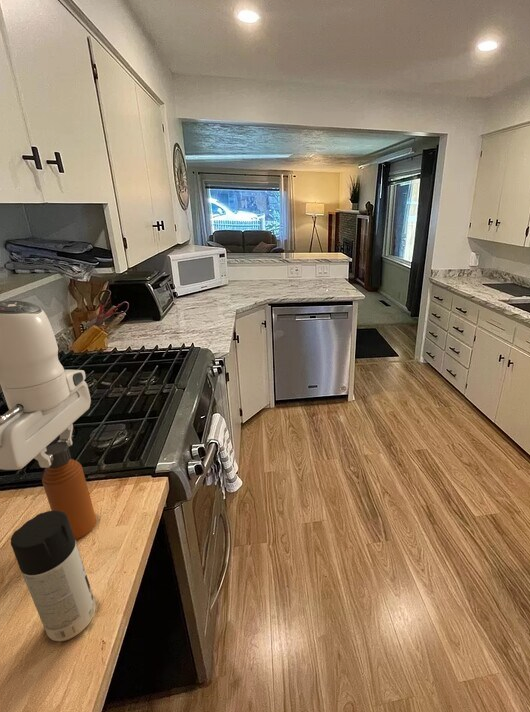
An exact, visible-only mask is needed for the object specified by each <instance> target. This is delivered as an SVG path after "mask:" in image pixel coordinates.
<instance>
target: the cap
mask: <svg viewBox="0 0 530 712" xmlns="http://www.w3.org/2000/svg"><path fill="white" fill-rule="evenodd" d="M46 449H47V451H46V452H44V453H45V454H47V455H52V454H53V456H54V459H55V461H54V463H53V464H52V465H51V466H50V467H49V468H54V467H59V466H61V465H64V464H65V463H67V462H68V461H69V460H70V459H72V454H71V450H70V447H69V446H68V444H67V443H63V442H61V443H57V442H55V443H53V444H49V445H48V446H47V447H46Z"/></svg>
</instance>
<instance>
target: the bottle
mask: <svg viewBox="0 0 530 712" xmlns="http://www.w3.org/2000/svg"><path fill="white" fill-rule="evenodd" d="M41 482H42V485H43V489H44V492H45V495H46V498H47V501H48V505H49V507H50V511H53V510H56V511H62V512H64V513H65V514H66V515H67V517H68V520H69V523H70V526H71V529H72V532H73V534H74V537H75V540H76V541H77V540H79V539H80V538H83V537H85V536H86V535H88V534H89V533H90V532H91V531H92V530H93V529H94V528H95V526H96V524H97V517H96V514H95V509H94V506H93V502H92V499H91V494H90V491H89V488H88V487H89V486H88V484H87V479H86V476H85V472H84V469H83V466H82V464H81V463H80V462H79V461H77V460H75V459H73V458H71V459H70V460H69V461H68V462H67V463H65V464H64V465H61V466H59V467H54V468H49V467H48V468H45V470H44V472H43V474H42V477H41Z"/></svg>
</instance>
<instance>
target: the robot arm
mask: <svg viewBox="0 0 530 712" xmlns="http://www.w3.org/2000/svg"><path fill="white" fill-rule="evenodd" d="M86 377H87V376H86V371H85V370H83V369H65V368H64V366H63V365H62V364H61V361H60V360H59V347H58V342H57V339H56V336H55V333H54V330H53V326H52V324H51V322H50V320H49V317H48V316H47V314H46V312H45V310H43V309H42V308H41V307H40V306H39V305H37V304H35V303H33V302H29V301H24V300H0V387H1V390H2V393H3V396H4V400H5V402H6V406H7V408H8V411H6V412H5V413H4V414H1V415H0V470H3V471H17V470H21V469H24V467H26V466H27V465H28V464H29V463H30V462H31V461H33V459H34V460H36V461H37V463H38V465H39V467H40V468H42V469H43V468H45V469H47V468H48V467H50V466H51V465H52V464H53V463H54V461H55V459H54V456H53V454H52V455H47V454H45V453H44V452H46V451H47V449H46V448H47V447H48V446H50V445H51V443H52V442H54V441H55V440H56V439H57V438H59V440H57V442H56V443H61V442H63V443H67V444H68V446H69V448H70V447H72V446H73V438H72V436H73V431H74V425H73V424H74V423H75V422H76V421H77V420H78V419H79V418H80V417H82V416H83V415H84V414H85V413H86V412H87V411H88V410H89V409H90V407H91V404H92V399H91V394H90V390H89V386H88V384H87V382H86V381H85V380H86Z"/></svg>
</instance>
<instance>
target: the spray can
mask: <svg viewBox="0 0 530 712" xmlns="http://www.w3.org/2000/svg"><path fill="white" fill-rule="evenodd" d="M10 546H11V549H12V551H13V554H14V556H15V559H16V562H17V564H18V568H19V570H20V573H21V574H22V577H23V578H24V582H25V584H26V587H27V589H28V591H29V595H30V597H31V600H32V601H33V604H34V606H35V609H36V612H37V613H38V616H39V619H40V621H41V623H42V626H43V629H44V631H45V633H46V636H47V637H48V638H49V639H50V640H52V641H54V642H65V641H69V640H71V639H73V638H74V637H76V636H77V635H79V634H81V633H82V632H83V631H84V630H85V629H87V627H88V626H89V625H90V623H91V622H92V620H93V618H94V615H95V614H96V613H95V612H96V600H95V596H94V595H93V589H92V588H91V584H90V581H89V579H88V575H87V572H86V569H85V565H84V564H83V560H82V559H83V558H82V556H81V552H80V550H79V547H78V546H79V545H78V543H77V539H76V540H75V537H74V534H73V532H72V529H71V526H70V523H69V520H68V517H67V515H66V514H65V513H64V512H62V511H56V510H53V511H51V510H48V511H45V512H41V513H38V514H37V515H35V516H34V517H33V518H31V519H28V520H27V521H25V522H24V523H23V524H22V525H21V526H20V527H19V528H18V529H17V530H15V531H14V532H13V534H12V535H11V537H10Z"/></svg>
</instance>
